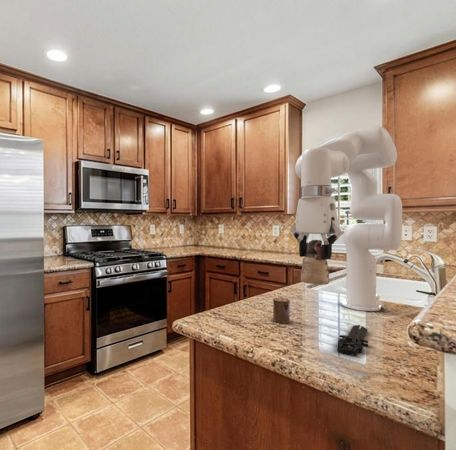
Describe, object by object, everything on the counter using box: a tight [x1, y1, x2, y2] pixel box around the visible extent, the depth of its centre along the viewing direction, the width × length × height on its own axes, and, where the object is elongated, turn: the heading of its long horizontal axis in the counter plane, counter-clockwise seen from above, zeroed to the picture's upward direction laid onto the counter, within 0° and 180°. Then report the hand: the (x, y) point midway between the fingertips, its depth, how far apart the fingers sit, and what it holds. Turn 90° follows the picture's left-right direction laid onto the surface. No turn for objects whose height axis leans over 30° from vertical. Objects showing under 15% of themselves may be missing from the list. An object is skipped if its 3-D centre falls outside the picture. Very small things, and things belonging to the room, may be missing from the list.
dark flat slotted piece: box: [336, 324, 369, 357], centre depth 85 cm, size 25×6×1 cm, turn 135°
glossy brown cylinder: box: [272, 297, 291, 325], centre depth 101 cm, size 5×5×7 cm
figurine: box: [300, 239, 330, 286], centre depth 87 cm, size 7×7×12 cm
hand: (314, 257), depth 88 cm, fingers closed on figurine, 6 cm apart
